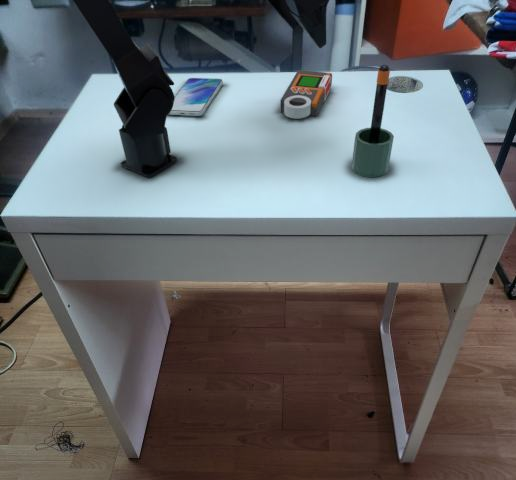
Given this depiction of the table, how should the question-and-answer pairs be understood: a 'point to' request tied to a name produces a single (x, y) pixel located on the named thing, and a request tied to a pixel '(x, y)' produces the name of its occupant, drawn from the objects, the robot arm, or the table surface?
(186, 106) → the smartphone
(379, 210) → the table surface
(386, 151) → the pen cup
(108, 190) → the table surface
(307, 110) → the electronic device
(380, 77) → the stylus
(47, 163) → the table surface
